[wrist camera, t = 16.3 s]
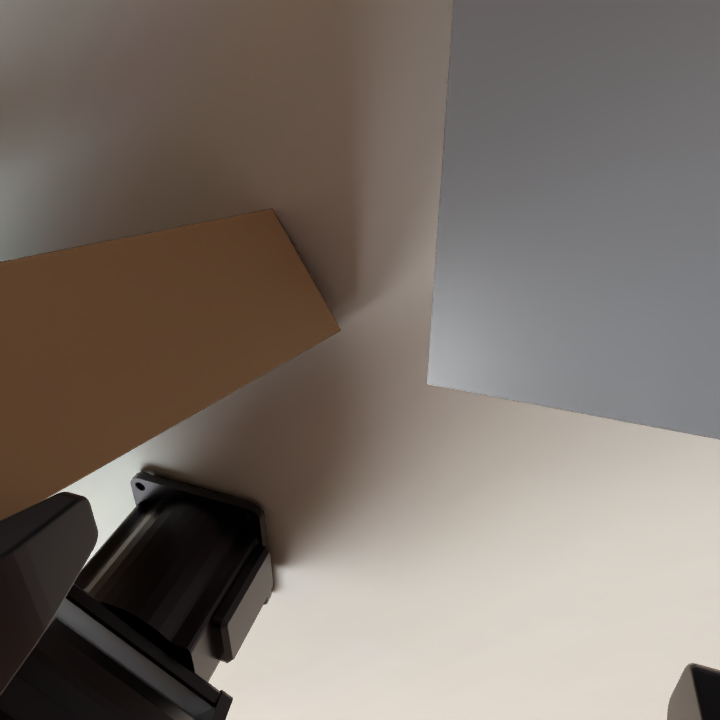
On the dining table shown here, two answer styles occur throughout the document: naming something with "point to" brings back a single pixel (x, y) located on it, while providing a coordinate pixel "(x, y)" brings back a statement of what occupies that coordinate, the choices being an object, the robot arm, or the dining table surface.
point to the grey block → (583, 209)
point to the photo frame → (140, 341)
